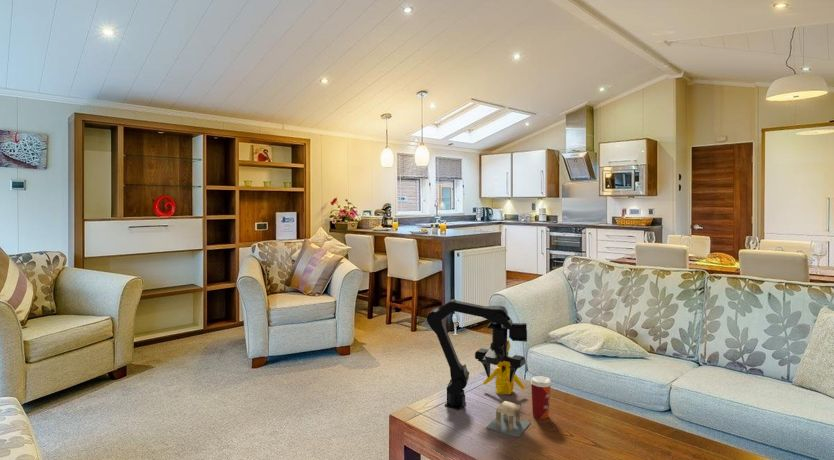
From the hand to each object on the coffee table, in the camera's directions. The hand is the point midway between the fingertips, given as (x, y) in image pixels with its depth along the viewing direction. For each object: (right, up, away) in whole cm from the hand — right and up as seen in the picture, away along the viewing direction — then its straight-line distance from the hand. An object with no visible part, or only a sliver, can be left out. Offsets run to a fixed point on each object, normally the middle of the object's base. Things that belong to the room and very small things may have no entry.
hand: (499, 379), depth 176 cm
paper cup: (+15, -12, -4) cm, 20 cm away
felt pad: (+1, -13, -12) cm, 17 cm away
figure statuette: (+5, -11, +17) cm, 21 cm away
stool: (+1, -12, -12) cm, 17 cm away
